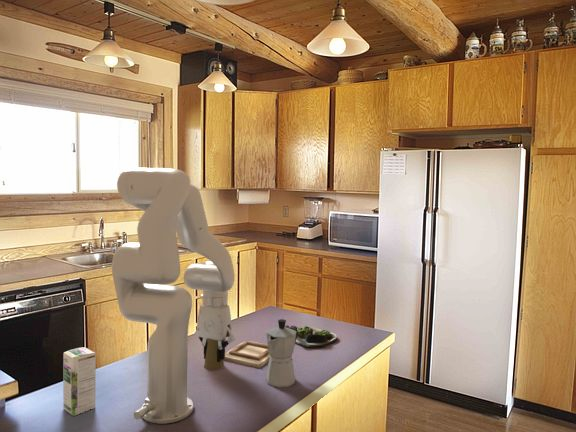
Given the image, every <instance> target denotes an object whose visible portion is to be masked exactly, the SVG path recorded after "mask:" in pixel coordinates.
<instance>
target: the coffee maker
mask: <svg viewBox="0 0 576 432" xmlns="http://www.w3.org/2000/svg"><path fill="white" fill-rule="evenodd" d="M277 322H278V326H277V327H274V328H270V329H268V330H267V332H266V339H267V340H266V341H267V345H268V351H269V355H270V356H271V357H270V358H269V361H268V362H267V363H268V365H267V370H266V375H265V381H266V383H267V385H269V386H271V387H275V388H278V389H279V388H288V387H291V386H292V385H294V384H295V383H296V375H295V369H294V360H293V358H292V357H293V355H294V351H295V350H294V349H295V344H296V343H295V342H296V339H297V335H298V328H297V327H298V326H296V325H291V326H289V325H288V324H286V322H287V320H286V319H278V320H277Z"/></svg>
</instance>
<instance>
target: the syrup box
mask: <svg viewBox="0 0 576 432" xmlns="http://www.w3.org/2000/svg"><path fill="white" fill-rule="evenodd" d="M62 356H63V358H62V359H63V364H62V365H63V367H62V368H63V370H62V371H63V378H62V379H63V389H62V391H63V394H62V395H63V399H62V400H63V404H62V405H63V407H62V408H63V409H64V410H65V411H66V412H68V413H69V414H70V415H71V416H73V417H75V416H78V415H80V413H81V414H83V413H86V412H88V411H90V409H91V410H92V409H95V408H96V367H97V366H96V365H97V364H96V357H97V356H96V352H95V351H92V350H91V349H90V348H87V347H76V348H73V349H69V350H67V351H64V352H63V355H62ZM85 411H86V412H85Z"/></svg>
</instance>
